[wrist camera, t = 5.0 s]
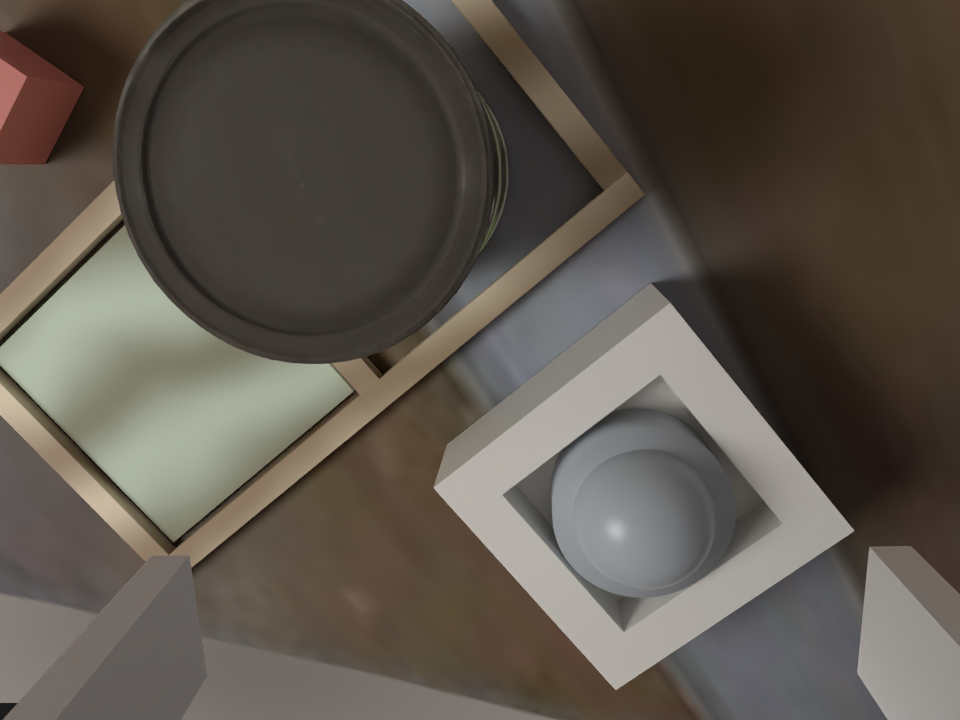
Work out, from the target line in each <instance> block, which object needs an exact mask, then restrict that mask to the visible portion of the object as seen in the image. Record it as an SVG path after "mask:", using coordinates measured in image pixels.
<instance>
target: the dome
mask: <svg viewBox="0 0 960 720" xmlns="http://www.w3.org/2000/svg"><path fill="white" fill-rule="evenodd" d="M551 500H552V520H553V529H554V533H555V537H556V540H557V543H558V545H559V548H560V550H561V552H562V553H563V555H564V557H565V558H566V560H567V561H568V562H569V564H570V565H571V566H572V567H573V568H574V569H575V570H576V571H577V572H578V573H579V574H580V575H581V576H582V577H583V578H585V579H586V580H587V581H589V582H590V583H592V584H594V585H595V586H597V587H599V588H601V589H603V590H606V591H608V592H611V593H614V594H618V595H622V596H628V597H638V598H648V597H658V596H663V595H668V594H671V593H674V592H678V591H680V590H682V589H684V588H687V587H689V586H691V585H692V584H694V583H696V582H697V581H699V580H700V579H701V578H703V577H704V576H705V575H707V574H708V573H709V572H710V571H711V570H712V569H713V568H714V567H715V566H716V565H717V563H718V562H719V561H720V559H721V558H722V557H723V555H724V553H725V552H726V550H727V548H728V546H729V544H730V541H731V539H732V536H733V532H734V528H735V521H736V503H735V497H734V492H733V489H732V487H731V484H730V481H729V479H728V477H727V475H726V474H725V472H724V470H723V468H722V467H721V465H720V464H719V462H718V460H717V459H716V457H715V456H714V454H713V452H712V451H711V449H710V447H709V446H708V445H707V443H706V442H705V440H704V439H703V438H702V437H701V436H700V435H699V434H698V433H697V431H696V430H694V429H693V428H692V427H691V426H689V425H688V424H687V423H685V422H683V421H682V420H680V419H678V418H676V417H674V416H672V415H670V414H667V413H664V412H660V411H657V410H650V409H639V408H633V409H622V410H618V411H613V412H610V413H609V414H608V415H607V416H605V417H604V418H603V419H601V420H600V421H599V422H597V423H596V424H595V425H593V426H592V427H591V428H589V429H588V430H587V431H585V432H584V433H583V434H582V435H580V436H579V437H578V438H576V439H575V440H574V441H572V442H571V443H570V444H568V445H567V446H566V447H564V448H563V449H562V450H561V452H560V454H559V456H558V458H557V460H556V463H555V466H554V469H553V474H552V479H551Z"/></svg>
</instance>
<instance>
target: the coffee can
mask: <svg viewBox="0 0 960 720" xmlns="http://www.w3.org/2000/svg"><path fill="white" fill-rule="evenodd" d="M113 174H114V180H115V188H116V194H117V198H118V202H119V206H120V211H121V214H122V218H123V221H124V224H125V227H126V230H127V233H128V236H129V238H130V240H131V242H132V244H133V246H134V248H135V250H136V252H137V255H138V257H139V258H140V260H141V262H142V263H143V265H144V267H145V268H146V270H147V271H148V273H149V275H150V276H151V278H152V279H153V281H154V282H155V283H156V284H157V286H158V287H159V288H160V289H161V290H162V291H163V293H164V294H165V295H166V296H167V297H168V298H169V299H170V300H171V301H172V302H173V303H174V304H175V305H176V306H177V307H178V308H179V309H180V310H181V311H182V312H183V313H184V314H185V315H186V316H187V317H189V318H190V319H191V320H192V321H194V322H195V323H196V324H197V325H199V326H200V327H201V328H203V329H204V330H206V331H207V332H209V333H210V334H212V335H213V336H215V337H216V338H218V339H220V340H222V341H224V342H226V343H227V344H229V345H231V346H233V347H235V348H237V349H240V350H242V351H245V352H247V353H250V354H253V355H256V356H259V357H263V358H267V359H270V360H276V361H282V362H288V363H299V364H330V363H336V362H345V361H351V360H355V359H359V358H363V357H366V356H369V355H372V354H375V353H378V352H380V351H382V350H385V349H387V348H389V347H391V346H393V345H395V344H397V343H399V342H400V341H402V340H404V339H405V338H407V337H408V336H410V335H411V334H413V333H415V332H417V331H418V330H419V329H420V328H422V327H423V326H424V325H425V324H427V323H428V322H429V321H430V320H431V319H432V318H433V317H434V316H435V315H436V314H437V313H439V312H440V311H441V310H442V309H443V308H444V306H445V305H446V304H447V303H448V302H449V301H450V299H451V298H452V297H453V296H454V295H455V294H456V293H457V291H458V290H459V288H460V287H461V285H462V283H463V282H464V280H465V279H466V277H467V275H468V274H469V272H470V270H471V268H472V266H473V265H474V263H475V261H476V258H477V256H478V254H479V253H480V252H481V250H482V249H483V248H484V247H485V245H486V244H487V242H488V241H489V239H490V238H491V236H492V235H493V233H494V231H495V229H496V227H497V224H498V222H499V220H500V218H501V215H502V212H503V209H504V205H505V201H506V197H507V191H508V183H509V166H508V156H507V150H506V145H505V142H504V138H503V135H502V132H501V129H500V127H499V124H498V122H497V120H496V118H495V116H494V114H493V112H492V111H491V109H490V107H489V106H488V104H487V103H486V101H485V100H484V98H483V97H482V96H481V95H480V93H479V92H478V91H477V90H476V88H475V86H474V84H473V82H472V80H471V78H470V76H469V74H468V72H467V71H466V69H465V67H464V66H463V64H462V63H461V61H460V60H459V58H458V57H457V55H456V54H455V52H454V51H453V49H452V48H451V47H450V45H449V44H448V43H447V42H446V41H445V39H444V38H443V37H442V36H441V35H440V34H439V33H438V32H437V31H436V29H435V28H434V27H433V26H432V25H431V24H430V23H429V22H428V21H427V20H426V19H424V18H423V17H422V16H421V15H420V14H419V13H418V12H416V11H415V10H414V9H413V8H412V7H410V6H409V5H408V4H406V3H405V2H404V1H402V0H187V1H186V2H185V3H184V4H182V6H181V7H179V8H178V9H176V10H175V11H174V12H173V13H172V14H171V15H170V16H169V17H168V18H167V19H166V20H165V21H164V22H163V23H162V24H161V25H160V26H159V27H158V28H157V29H156V30H155V32H154V33H153V34H152V35H151V37H150V38H149V40H148V41H147V43H146V44H145V45H144V47H143V48H142V50H141V52H140V53H139V55H138V57H137V59H136V61H135V63H134V65H133V67H132V68H131V71H130V73H129V75H128V77H127V80H126V82H125V85H124V88H123V91H122V94H121V97H120V101H119V104H118V109H117V113H116V118H115V123H114V136H113Z"/></svg>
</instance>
